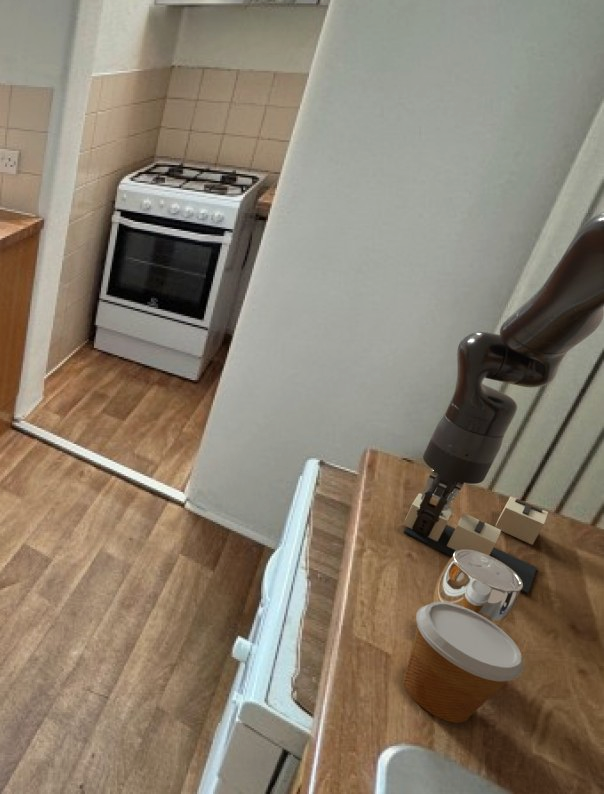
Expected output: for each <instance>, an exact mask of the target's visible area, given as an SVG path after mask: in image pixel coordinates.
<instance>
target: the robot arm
mask: <svg viewBox="0 0 604 794" xmlns="http://www.w3.org/2000/svg"><path fill="white" fill-rule="evenodd" d="M603 319H604V211H602V212H600V213H598V214H596V215H594V216H592V217H590V219H588V220H587V221H586V223H585V224H583V225H582V227H581V228H580V229H579V230H578V231H577V232H576V234H575V236H574V237H573V238H572V240H571V241H570V243H569V245H568V246H567V247H566V249H565V251H564V253H563V255H562V256H561V258H560V259H559V261H558V262H557V263H556V265H555V267H554V268H553V270H552V271H551V272H550V274H549V275H548V278H546V280H545V282H544V283H543V284H542V286H541V287H539V289H538V290H537V291H536V292H535V293H534V295H532V296H531V297H530V298H529V299H528V300H527V301H526V302H524V303H523V304H522V305H521V306H519V308H517V310H516V311H515V312H513V313H512V314H511V315H510V316H509V317H508V318H506V320H505V321H504V322H503V323H502V324H501V326H500V328H499V334H498V333H492V332H486V331H475V332H471V333H469V334H467V335H466V336H464V337H463V338H462V340H460V342H459V344H458V346H457V350H456V351H457V352H456V367H457V369H456V381H455V386H454V392H453V394H452V397H451V399H450V401H449V404H448V406H447V408H446V410H445V412H444V414H443V416H442V417H441V418H440V419H439V421H438V423H437V425H436V426H435V429H434V431H433V433H432V435H431V436H430V439H429V442H428V444H427V446H426V448H425V450H424V453H423V455H422V459H423V462H424V463H425V464H426V465H427V466H428V468H430V469H432V471H431V473H430V474H429V476H428V478H427V480H426V481H425V485H426V486H425V488H424V490H423V492H422V493H421V494H422V496H421V500H422V504H421V506H420V508H419V509H418V510H417V515H418V516H417V519H416V521H415V523H414V525H413V527H412V529H413V530H414V531H415V532H417V533H419V534H421V535H423V536H426V537H428V536H429V535H430V533H431V531H432V529H433V527H434V525H435V524H436V522H438V521H439V519H440V518H439V517H440V515H441V513H442V511H447V510H448V508H449V507H451V505H452V503H453V501H454V500H455V499H456V498H457V497H458V495H459V494H460V492H461V490H462V488H463V486H464V484H469V485H476V484H480V483H483V482H484V481H485V479H486V477H487V475H488V473H489V471H490V469H491V468H492V465H493V463H494V461H495V459H496V458H497V456H498V454H499V452H500V450H501V448H502V445H503V440H504V437H505V436H506V433H507V431H508V429H509V427H510V425H511V424H512V422H513V420H514V418H515V416H516V414H517V411H518V405H517V402H516V400H515V399H513V398H512V397H511V396H509V395H508V394H506V393H504V392H501V390H498V389H496V388H493V387H490V386H488V385H486V384H484V383H483V382H484V380H485V379H487V380H492V381H497V382H500V383H505V384H510V385H514V386H518V387H523V388H538V387H545V386H547V385H549V384H550V383H552V382H553V381H554V380H555V378H556V376H557V373H558V371H559V368H560V365H561V363H562V361H563V359H564V358H565V356H566V355H567V353H568V352H569V351H570V350H572V349H573V348H574V347H576V346H577V345H579V344H580V343H582V342H583V341H585V340H586V339H587V338H588V337H590V336H591V335H592V334H593V333H594V332H595V331H596V330H598V328H599V327H600V325H601V324H602V322H603Z"/></svg>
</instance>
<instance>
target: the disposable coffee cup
mask: <svg viewBox="0 0 604 794" xmlns="http://www.w3.org/2000/svg"><path fill="white" fill-rule="evenodd" d="M415 619H416V625H417V627H416V630H415V634H414V638H413V642H412V646H411V650H410V654H409V657H408V660H407V661H408V662H407V666H406V670H405V672H404V676H403V685H404V688H405V690H406V691H407V693H408V694H409V696H410V697H411V698H412V699H413V700H414V701H415V703H417V704H418V705H419V706H420V707H422V708H423V709H424V710H425V711H427V712H428V713H430V714H431V715H433V716H435V717H436V718H438V719H441V720H443V721H447V722H449V723H455V724H462V723H465V722H466V721H468V719H470V717H471V716H473V714H475V713H476V711H478V710H479V708H480V707H482V706H483V705H484V704H485V703H486V702H487V701H488V700H489V699H490V698H491V697H492V696H493V695H494V694H496V692H498V690H500V689H501V688H502V687H503V686H504V685H505V684H506V683H507V682H509V681H512V680H516V679H517V678H519V677H520V676H521V675H522V673H523V670H524V666H523V662H522V654H521V651H520V649H519V647H518V645H517V644H516V642H515V641H514V640H513V639H512V637H510V636H509V634H508V633H506V632H505V631H504V629H502V628H501V627H500V626H499V627H498V626H496V625H495V624H494V623H492V622H491V621H490V620H488V619H486V618H485V617H483V616H481V615H480V614H478V613H476V612H474V611H472V610H469V609H467V608H465V607H462V606H459V605H456V604H452V603H448V602H433V601H432V602H431V603H429V604H426V605H424V606H423V605H422V607H420V608H419V609H418V610H417V612H416V616H415Z"/></svg>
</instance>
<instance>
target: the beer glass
mask: <svg viewBox="0 0 604 794" xmlns="http://www.w3.org/2000/svg"><path fill="white" fill-rule="evenodd" d="M522 587H523V583H522V581H521V579H520V577H519V576H518V575H517V574H516V573H515V572H514V571H513V570H512V569H510V568H509V567H508V566H506V565H505V564H503V563H502V562H500V561H498V560H497V559H495V558H493V557H491V556H488V555H486V554H484V553H481V552H478V551H474V550H469V549H459V550H456V551H455V552H454V554H453V556H452V557H451V556H450V558H449V560H448V561H447V563H446V564H445V565H444V567H443V569H442V570H441V572H440V573H439V576H438V578H437V580H436V584H435V587H434V592H433V596H432V597H433V598H432V603H433V602H448V603H452V604H456V605H459V606H462V607H465V608H467V609H469V610H472V611H474V612H476V613H478V614H480V615H481V616H483V617H485V618H486V619H488V620H490V621H491V622H492V623H494V624H495V625H496V626H498V627H499V628H500V626H501V625H502V624H504V623H505V621H506V620H507V619H508V617H509V616H510V614H511V613H512V611H513V609H514V607H515V606H516V603H517V602H518V601H517V600H518V598H519V595H520V594H521V589H522Z"/></svg>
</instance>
